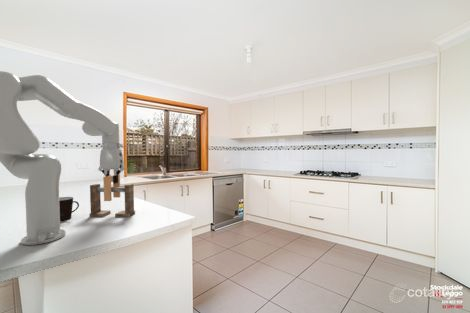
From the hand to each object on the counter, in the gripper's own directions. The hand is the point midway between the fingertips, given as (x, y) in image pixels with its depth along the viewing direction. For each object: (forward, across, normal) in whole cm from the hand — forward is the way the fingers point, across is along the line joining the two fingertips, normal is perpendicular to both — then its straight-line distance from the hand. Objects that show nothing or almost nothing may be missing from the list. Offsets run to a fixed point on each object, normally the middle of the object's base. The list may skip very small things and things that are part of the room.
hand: (112, 182), depth 111 cm
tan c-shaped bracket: (+8, 0, 0) cm, 8 cm away
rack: (+16, 0, 0) cm, 16 cm away
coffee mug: (+17, +19, +8) cm, 26 cm away
